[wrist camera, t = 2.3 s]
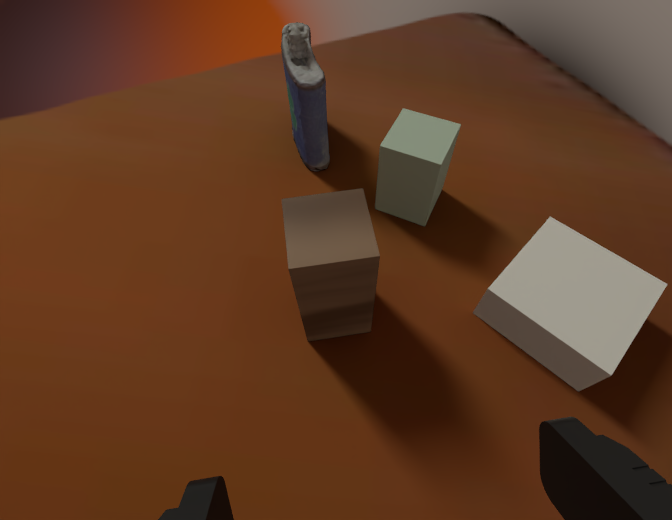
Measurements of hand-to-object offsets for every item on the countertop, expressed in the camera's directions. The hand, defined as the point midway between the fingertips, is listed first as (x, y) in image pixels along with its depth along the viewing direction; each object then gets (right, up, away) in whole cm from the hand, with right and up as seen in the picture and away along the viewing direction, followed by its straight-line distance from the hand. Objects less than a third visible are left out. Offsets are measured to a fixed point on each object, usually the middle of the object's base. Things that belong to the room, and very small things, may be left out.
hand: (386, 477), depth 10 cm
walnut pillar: (-1, +2, +19) cm, 19 cm away
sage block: (+5, +11, +24) cm, 27 cm away
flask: (-4, +17, +29) cm, 34 cm away
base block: (+14, +2, +19) cm, 23 cm away
